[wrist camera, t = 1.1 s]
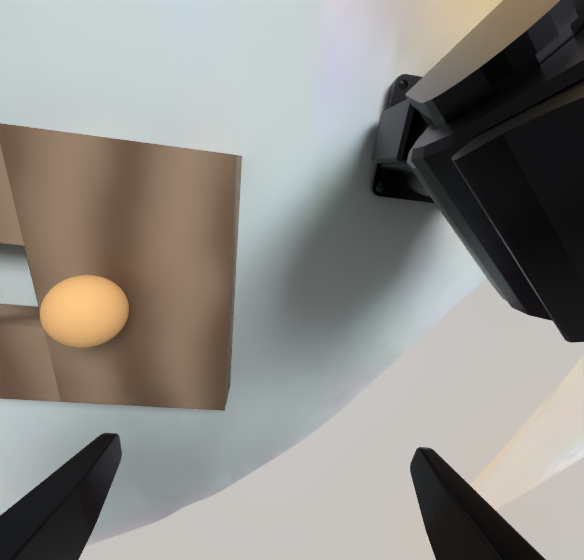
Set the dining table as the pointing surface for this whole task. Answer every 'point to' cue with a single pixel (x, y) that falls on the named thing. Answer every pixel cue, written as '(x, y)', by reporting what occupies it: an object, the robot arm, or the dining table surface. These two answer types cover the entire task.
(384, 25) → the dining table surface
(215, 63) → the dining table surface
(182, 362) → the pocket board
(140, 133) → the dining table surface
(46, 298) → the ball
